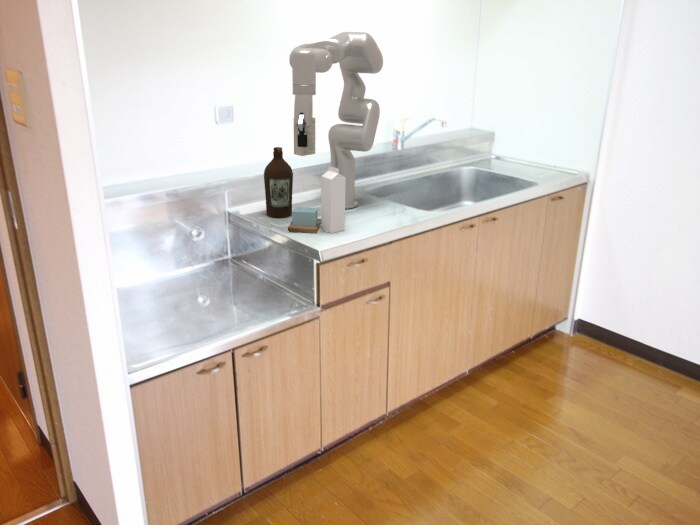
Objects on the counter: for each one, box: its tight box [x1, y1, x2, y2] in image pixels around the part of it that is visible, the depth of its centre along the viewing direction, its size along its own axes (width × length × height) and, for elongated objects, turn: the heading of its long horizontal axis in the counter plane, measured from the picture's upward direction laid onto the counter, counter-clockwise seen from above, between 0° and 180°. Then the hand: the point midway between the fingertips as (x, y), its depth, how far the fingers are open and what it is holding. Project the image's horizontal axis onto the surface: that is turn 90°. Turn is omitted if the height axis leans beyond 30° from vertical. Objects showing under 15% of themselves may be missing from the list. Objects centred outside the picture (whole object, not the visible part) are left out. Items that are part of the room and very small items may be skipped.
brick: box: [291, 206, 319, 227], centre depth 215 cm, size 6×8×5 cm
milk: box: [320, 165, 346, 234], centre depth 211 cm, size 6×6×22 cm
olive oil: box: [263, 146, 294, 219], centre depth 226 cm, size 11×11×25 cm
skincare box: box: [293, 116, 316, 157], centre depth 205 cm, size 6×4×12 cm
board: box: [287, 218, 321, 234], centre depth 216 cm, size 12×10×2 cm
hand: (304, 144), depth 206 cm, fingers closed on skincare box, 7 cm apart
